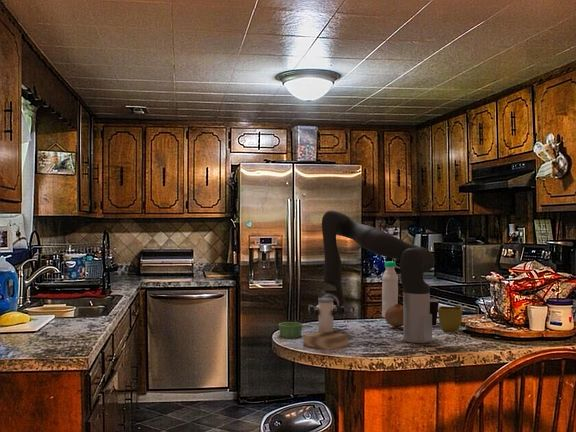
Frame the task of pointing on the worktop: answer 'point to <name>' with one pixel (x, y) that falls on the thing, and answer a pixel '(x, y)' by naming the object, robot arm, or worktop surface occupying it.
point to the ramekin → (290, 329)
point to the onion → (395, 315)
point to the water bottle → (389, 287)
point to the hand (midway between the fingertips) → (325, 312)
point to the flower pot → (450, 318)
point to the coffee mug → (434, 310)
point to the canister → (325, 314)
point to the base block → (325, 340)
